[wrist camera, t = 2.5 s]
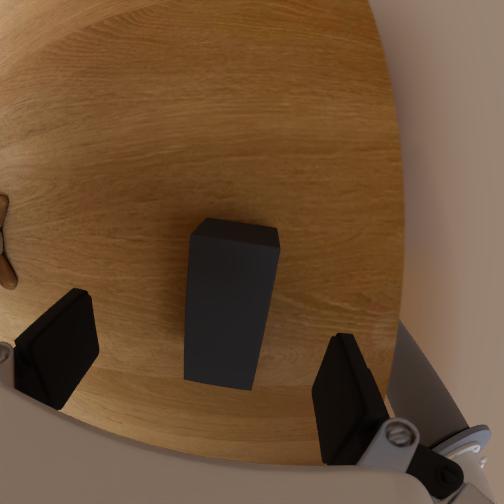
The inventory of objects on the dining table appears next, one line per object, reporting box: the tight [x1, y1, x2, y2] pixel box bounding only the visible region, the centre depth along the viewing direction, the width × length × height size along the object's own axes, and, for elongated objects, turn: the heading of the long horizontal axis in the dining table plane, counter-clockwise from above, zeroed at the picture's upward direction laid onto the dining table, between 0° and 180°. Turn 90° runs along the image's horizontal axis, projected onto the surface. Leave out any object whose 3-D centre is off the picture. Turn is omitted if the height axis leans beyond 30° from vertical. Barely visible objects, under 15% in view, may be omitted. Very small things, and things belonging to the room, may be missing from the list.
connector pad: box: [184, 218, 280, 391], centre depth 19 cm, size 5×11×4 cm, turn 172°
